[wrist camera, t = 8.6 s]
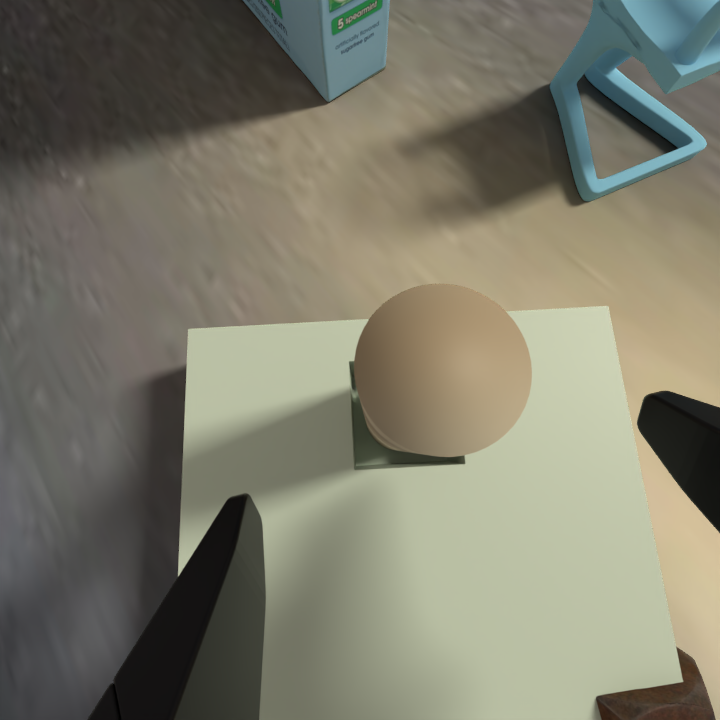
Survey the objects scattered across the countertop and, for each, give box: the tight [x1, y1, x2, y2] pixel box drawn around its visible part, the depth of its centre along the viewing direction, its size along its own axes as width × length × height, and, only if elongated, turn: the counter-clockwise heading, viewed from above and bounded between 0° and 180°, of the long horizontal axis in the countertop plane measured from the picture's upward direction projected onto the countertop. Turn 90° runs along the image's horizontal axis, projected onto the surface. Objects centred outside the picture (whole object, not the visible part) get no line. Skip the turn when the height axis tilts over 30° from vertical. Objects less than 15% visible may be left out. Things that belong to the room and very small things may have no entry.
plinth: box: [178, 306, 683, 720], centre depth 17 cm, size 15×18×4 cm
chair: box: [550, 0, 720, 201], centre depth 18 cm, size 8×8×12 cm
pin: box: [354, 284, 532, 457], centre depth 13 cm, size 3×3×12 cm
